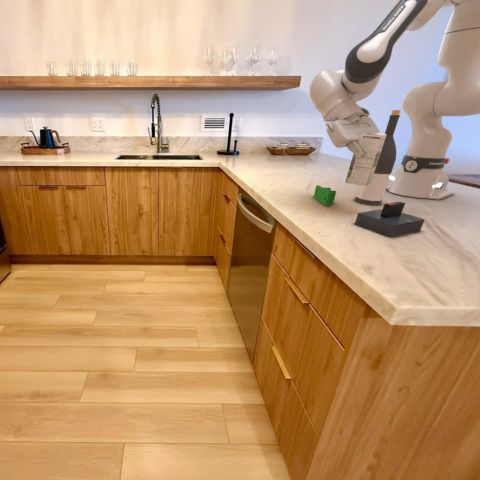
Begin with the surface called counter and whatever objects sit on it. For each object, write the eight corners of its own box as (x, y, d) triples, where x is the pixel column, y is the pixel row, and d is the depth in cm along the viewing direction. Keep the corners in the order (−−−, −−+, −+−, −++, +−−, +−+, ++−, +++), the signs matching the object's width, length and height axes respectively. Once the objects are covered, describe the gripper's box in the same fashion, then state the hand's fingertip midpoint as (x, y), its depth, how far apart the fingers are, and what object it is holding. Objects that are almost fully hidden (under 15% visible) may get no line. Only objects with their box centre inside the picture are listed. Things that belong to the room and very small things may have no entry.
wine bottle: (384, 206, 98) (417, 110, 85) (356, 203, 100) (385, 110, 88) (377, 200, 104) (407, 110, 92) (352, 197, 107) (377, 110, 95)
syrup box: (350, 180, 92) (363, 131, 86) (371, 183, 88) (387, 132, 82) (344, 183, 88) (358, 133, 82) (367, 186, 84) (383, 134, 78)
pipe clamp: (336, 206, 98) (340, 193, 96) (325, 206, 98) (328, 193, 96) (323, 197, 108) (326, 185, 106) (313, 196, 108) (316, 184, 106)
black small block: (394, 213, 80) (399, 200, 79) (400, 215, 79) (405, 202, 77) (380, 216, 78) (384, 202, 77) (386, 217, 77) (390, 204, 75)
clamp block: (382, 219, 86) (386, 207, 85) (420, 231, 78) (425, 218, 76) (354, 224, 82) (357, 212, 81) (390, 237, 74) (395, 224, 72)
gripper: (333, 110, 80) (360, 150, 77) (370, 110, 90) (396, 145, 86) (314, 127, 85) (339, 165, 82) (352, 124, 95) (375, 158, 91)
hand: (368, 155), depth 84 cm, fingers closed on syrup box, 6 cm apart
